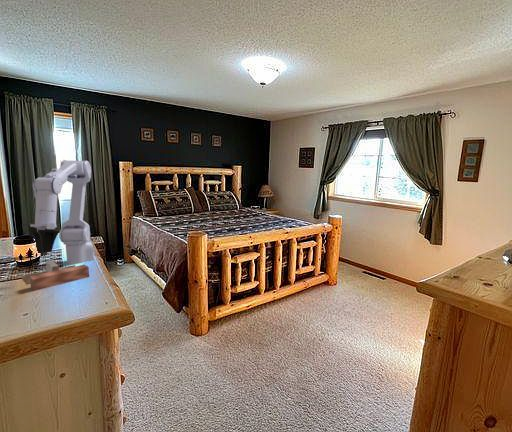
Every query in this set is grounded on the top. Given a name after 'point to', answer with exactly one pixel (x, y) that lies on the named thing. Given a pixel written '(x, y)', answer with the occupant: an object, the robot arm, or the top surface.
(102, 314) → the top surface
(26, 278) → the base board
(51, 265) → the ridge
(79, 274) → the reddish brown wooden block
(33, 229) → the deodorant
